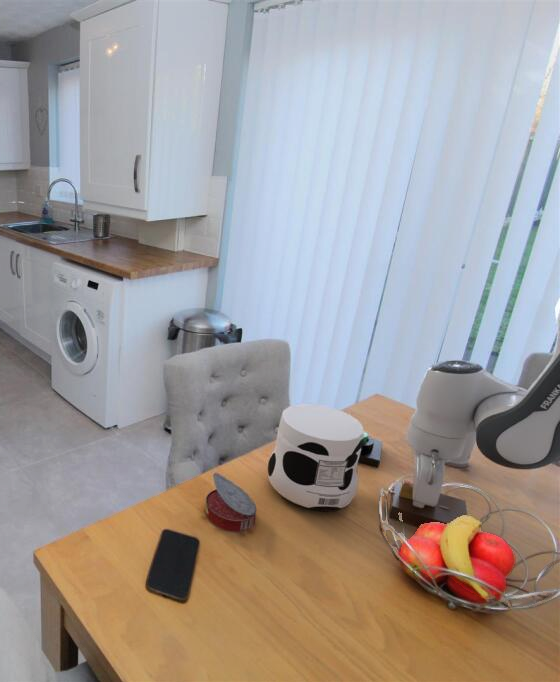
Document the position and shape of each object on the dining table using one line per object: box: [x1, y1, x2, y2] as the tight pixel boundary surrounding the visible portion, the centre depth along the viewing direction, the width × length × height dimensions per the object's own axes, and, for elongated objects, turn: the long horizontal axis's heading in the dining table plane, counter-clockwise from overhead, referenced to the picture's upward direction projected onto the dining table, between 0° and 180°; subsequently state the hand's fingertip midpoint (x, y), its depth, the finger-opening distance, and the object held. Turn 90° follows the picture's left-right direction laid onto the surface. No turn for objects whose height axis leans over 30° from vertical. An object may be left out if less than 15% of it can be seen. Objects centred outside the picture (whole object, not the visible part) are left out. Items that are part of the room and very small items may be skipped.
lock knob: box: [399, 480, 436, 507], centre depth 98 cm, size 6×1×3 cm, turn 54°
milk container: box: [267, 403, 364, 512], centre depth 103 cm, size 17×17×18 cm
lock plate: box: [388, 480, 468, 528], centre depth 98 cm, size 13×10×3 cm
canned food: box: [204, 472, 257, 533], centre depth 100 cm, size 11×10×10 cm
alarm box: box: [358, 434, 383, 469], centre depth 119 cm, size 10×10×4 cm
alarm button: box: [363, 430, 369, 443], centre depth 118 cm, size 4×4×2 cm
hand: (417, 497), depth 98 cm, fingers open, 4 cm apart
